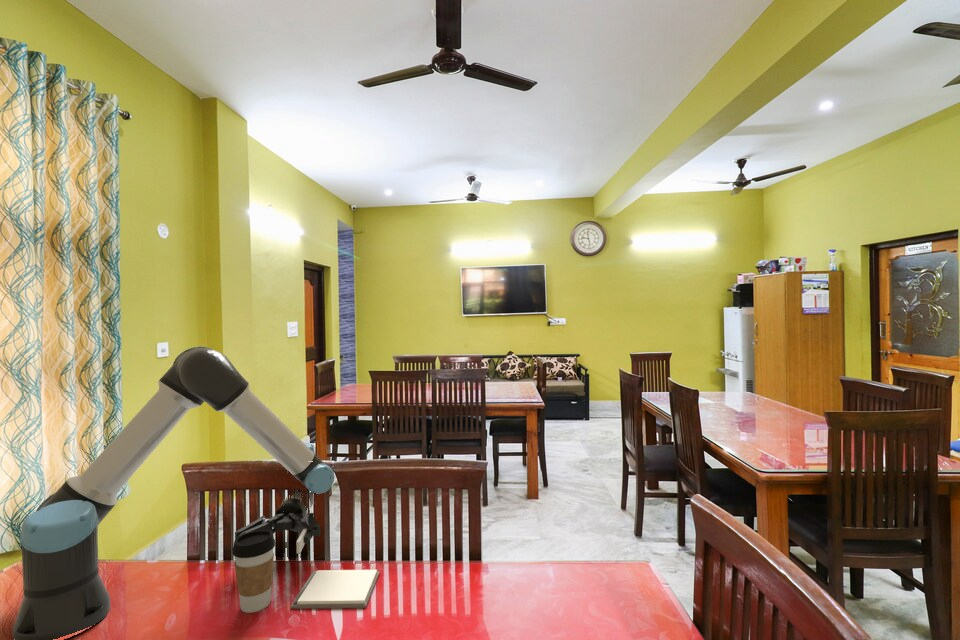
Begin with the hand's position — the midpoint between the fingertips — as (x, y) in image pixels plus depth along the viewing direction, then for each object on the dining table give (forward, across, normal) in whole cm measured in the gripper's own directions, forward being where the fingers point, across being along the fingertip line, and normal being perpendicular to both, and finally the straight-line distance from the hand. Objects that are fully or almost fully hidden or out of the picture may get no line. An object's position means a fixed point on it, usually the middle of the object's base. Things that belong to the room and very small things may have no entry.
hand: (267, 549), depth 110 cm
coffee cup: (+7, 0, -9) cm, 11 cm away
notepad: (+4, -16, -8) cm, 19 cm away
